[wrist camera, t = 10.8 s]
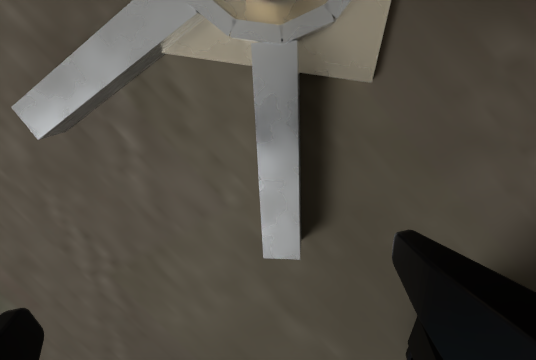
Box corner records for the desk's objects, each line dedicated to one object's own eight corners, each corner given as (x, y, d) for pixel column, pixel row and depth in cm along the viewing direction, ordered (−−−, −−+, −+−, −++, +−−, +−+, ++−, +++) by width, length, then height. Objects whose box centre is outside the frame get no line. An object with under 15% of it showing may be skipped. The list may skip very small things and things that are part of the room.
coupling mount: (441, -225, 13) (467, -282, 11) (330, 250, 21) (332, 273, 19) (-2, -254, 15) (-58, -309, 13) (53, 199, 23) (25, 214, 21)
